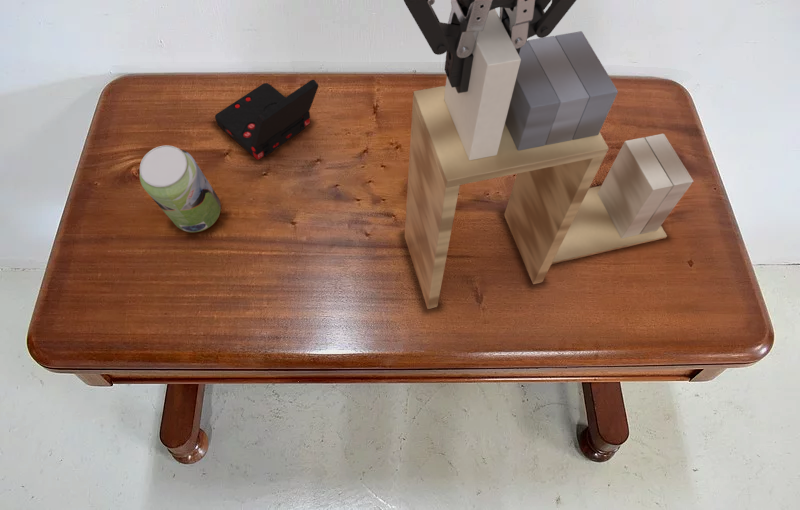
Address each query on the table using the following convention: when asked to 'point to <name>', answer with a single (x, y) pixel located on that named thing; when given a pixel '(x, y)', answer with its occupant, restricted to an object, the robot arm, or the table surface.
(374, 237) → the table surface
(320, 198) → the table surface
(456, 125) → the white book
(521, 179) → the wooden stand
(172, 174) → the beverage can
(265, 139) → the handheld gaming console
